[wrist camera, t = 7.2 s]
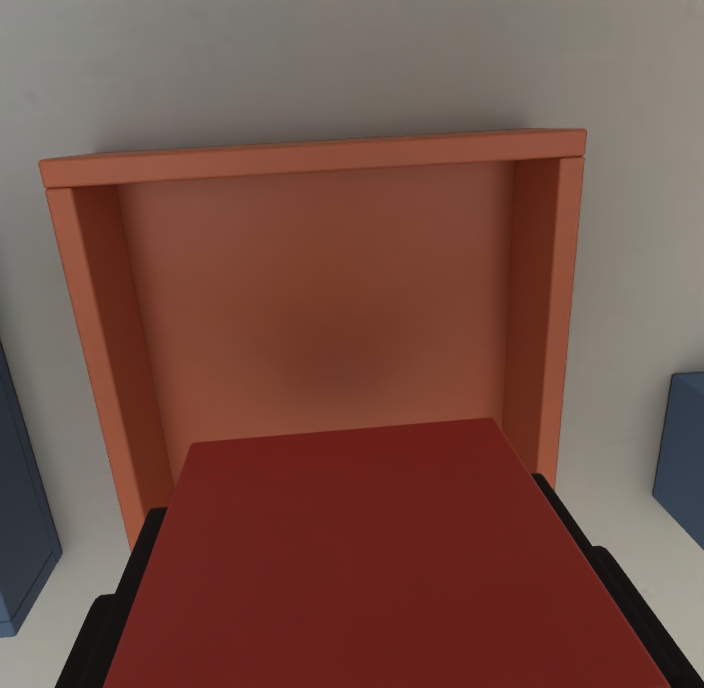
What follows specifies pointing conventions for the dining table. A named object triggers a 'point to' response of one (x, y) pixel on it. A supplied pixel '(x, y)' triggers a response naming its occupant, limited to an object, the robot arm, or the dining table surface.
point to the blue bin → (21, 517)
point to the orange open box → (319, 290)
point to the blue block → (684, 456)
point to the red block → (371, 571)
